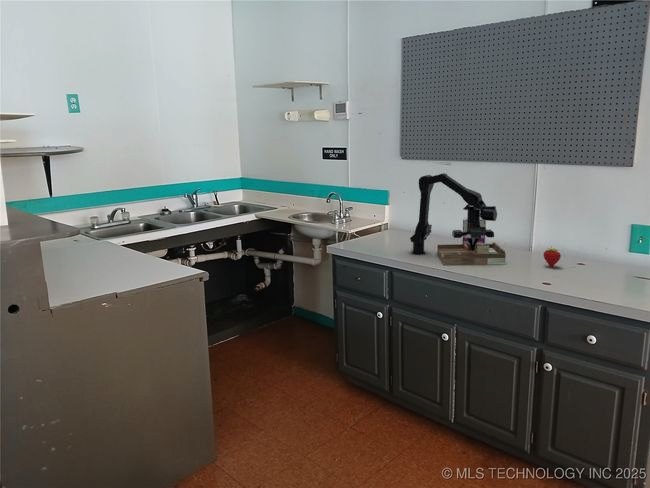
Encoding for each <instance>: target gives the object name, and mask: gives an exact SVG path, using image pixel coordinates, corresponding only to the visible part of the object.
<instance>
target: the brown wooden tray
mask: <svg viewBox="0 0 650 488" xmlns="http://www.w3.org/2000/svg"><path fill="white" fill-rule="evenodd" d="M486 244H487V245H489V254H476V253H475V248H474V250H473V251H471V248H470V245H469V244H463V243H460V244H459V243H458V244H456V243H455V244H450V243H449V244H437V256H438V258H439V260H440V261H441V263H442V265H443V266H468V265H469V266H470V265H471V266H473V265H474V266H475V265H477V266H478V265H483V266H484V265H489V266H490V265H491V266H492V265H505V264H506V255H507V254H506V250H504V248H502V247H501V246H500V245H499V244H498V243H496V242H495V241H494V242H493V241H492V243H486Z"/></svg>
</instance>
